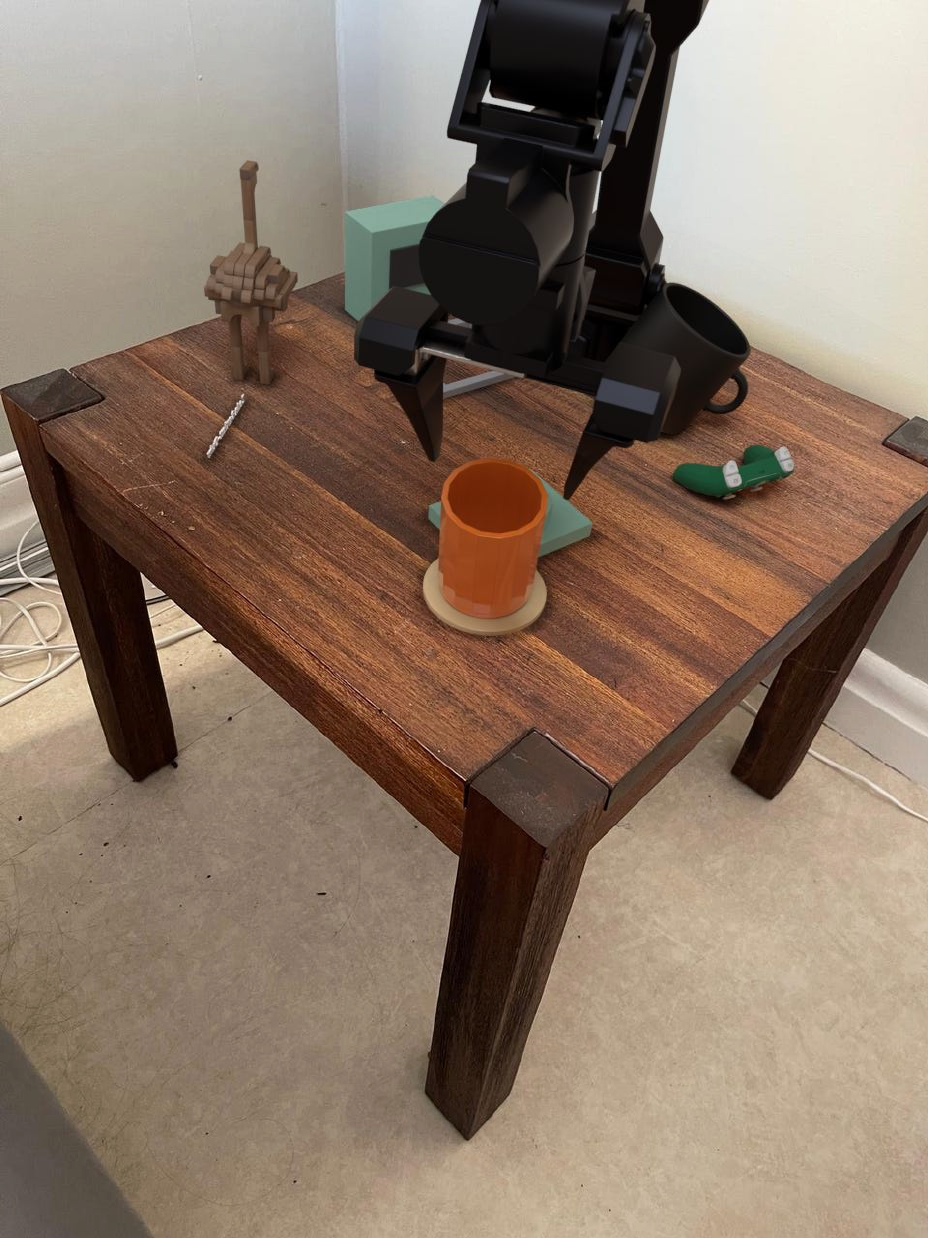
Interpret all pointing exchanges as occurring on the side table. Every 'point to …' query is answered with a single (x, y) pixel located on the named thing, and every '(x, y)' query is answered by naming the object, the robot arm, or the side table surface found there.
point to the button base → (548, 522)
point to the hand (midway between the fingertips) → (500, 476)
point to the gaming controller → (737, 472)
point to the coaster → (481, 625)
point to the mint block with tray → (394, 264)
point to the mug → (692, 350)
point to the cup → (490, 536)
